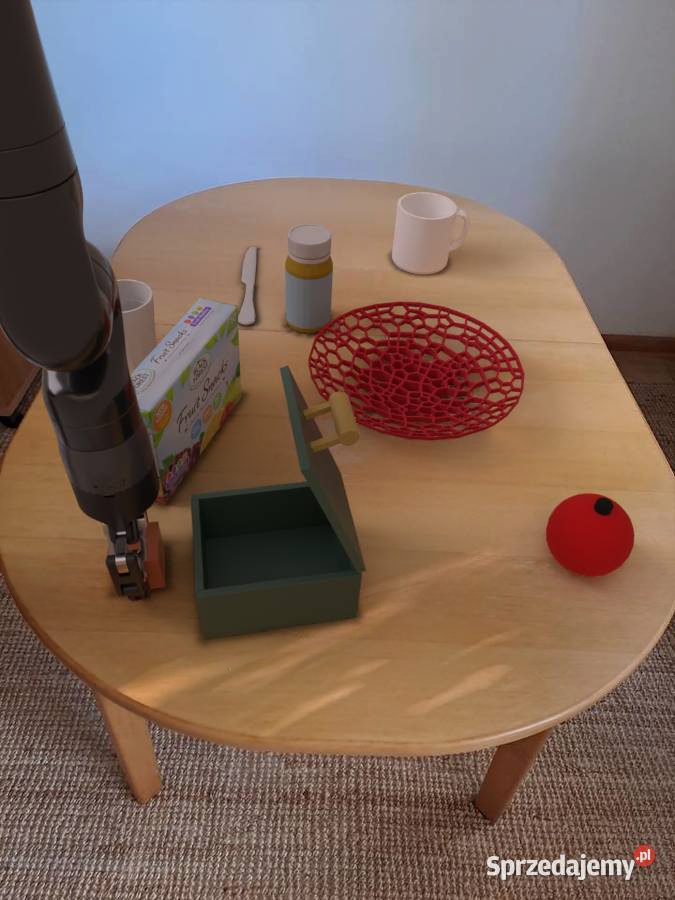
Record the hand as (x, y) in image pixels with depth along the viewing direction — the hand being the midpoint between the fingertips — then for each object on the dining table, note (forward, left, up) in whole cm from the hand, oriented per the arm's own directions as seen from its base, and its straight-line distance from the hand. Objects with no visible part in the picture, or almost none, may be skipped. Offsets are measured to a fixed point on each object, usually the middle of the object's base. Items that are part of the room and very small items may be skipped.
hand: (141, 565), depth 71 cm
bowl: (+37, +25, -1) cm, 45 cm away
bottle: (+25, +43, -1) cm, 50 cm away
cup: (-1, +35, -1) cm, 35 cm away
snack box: (+6, +19, -1) cm, 20 cm away
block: (0, 0, -1) cm, 1 cm away
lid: (+18, -3, +15) cm, 24 cm away
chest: (+14, -3, -1) cm, 14 cm away
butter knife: (+17, +55, -1) cm, 58 cm away
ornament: (+48, -6, -1) cm, 48 cm away
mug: (+49, +59, -1) cm, 77 cm away
